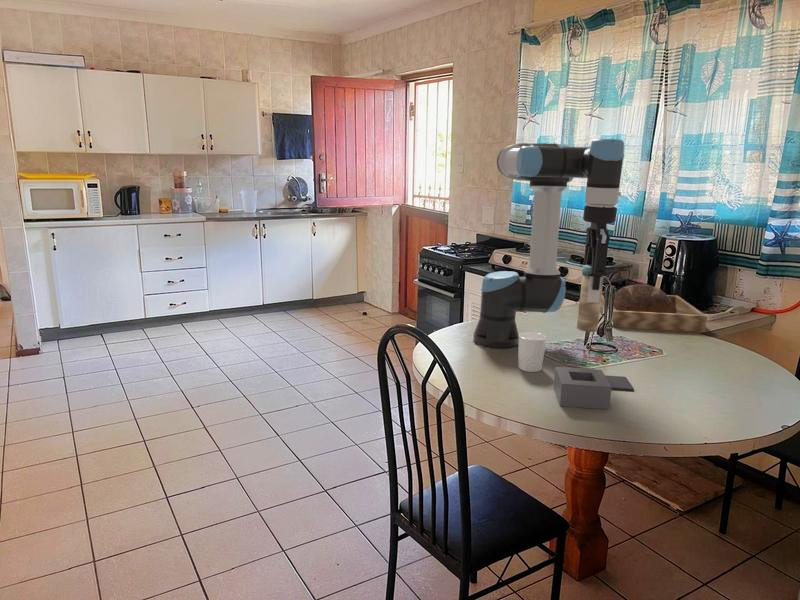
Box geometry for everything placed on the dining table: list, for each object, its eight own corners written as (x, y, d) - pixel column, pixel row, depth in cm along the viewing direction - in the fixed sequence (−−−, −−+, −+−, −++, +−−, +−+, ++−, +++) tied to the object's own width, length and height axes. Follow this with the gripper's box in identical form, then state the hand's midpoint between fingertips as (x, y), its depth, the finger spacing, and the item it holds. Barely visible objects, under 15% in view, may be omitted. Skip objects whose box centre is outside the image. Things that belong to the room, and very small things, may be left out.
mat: (599, 388, 160) (599, 386, 160) (593, 376, 169) (593, 374, 169) (633, 390, 159) (634, 388, 159) (625, 378, 168) (625, 376, 168)
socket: (559, 405, 148) (561, 383, 147) (553, 387, 160) (555, 366, 158) (608, 409, 147) (611, 386, 146) (598, 390, 159) (601, 369, 157)
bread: (599, 320, 227) (603, 287, 224) (609, 305, 250) (613, 275, 247) (673, 331, 216) (678, 296, 213) (676, 314, 239) (680, 282, 236)
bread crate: (611, 326, 218) (613, 311, 217) (594, 305, 249) (595, 291, 248) (704, 332, 215) (707, 316, 213) (675, 309, 246) (677, 295, 244)
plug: (578, 331, 147) (585, 268, 143) (574, 325, 152) (581, 264, 148) (599, 332, 146) (607, 269, 142) (595, 326, 151) (602, 265, 147)
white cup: (544, 365, 176) (547, 333, 174) (542, 374, 169) (545, 341, 167) (518, 362, 179) (520, 330, 176) (514, 370, 172) (517, 338, 169)
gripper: (627, 209, 132) (615, 309, 138) (607, 202, 150) (597, 291, 156) (593, 208, 133) (582, 307, 139) (577, 201, 150) (568, 290, 156)
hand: (590, 298), depth 147 cm, fingers closed on plug, 5 cm apart
